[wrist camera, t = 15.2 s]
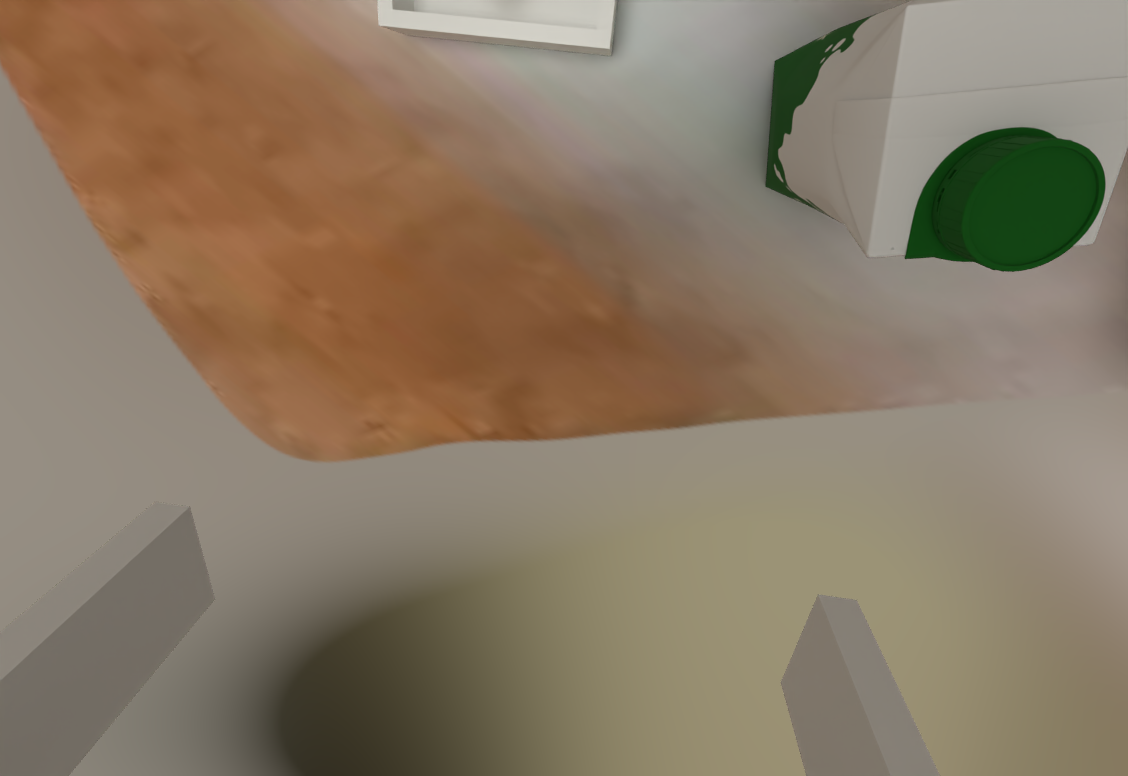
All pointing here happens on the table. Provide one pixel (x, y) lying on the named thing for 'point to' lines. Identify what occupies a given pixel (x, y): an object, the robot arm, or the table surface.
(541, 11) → the white rectangular tray
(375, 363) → the table surface
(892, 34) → the milk carton
